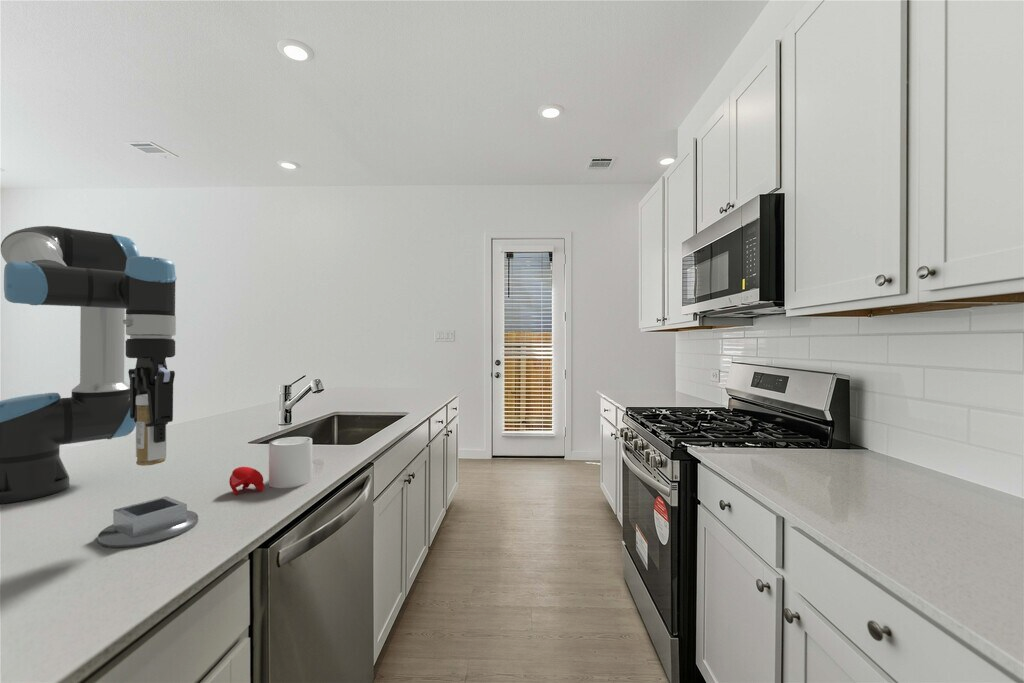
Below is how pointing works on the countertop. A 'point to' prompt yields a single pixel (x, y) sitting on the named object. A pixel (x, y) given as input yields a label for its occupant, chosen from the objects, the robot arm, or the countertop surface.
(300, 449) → the mug
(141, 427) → the sprinkles bottle
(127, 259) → the robot arm
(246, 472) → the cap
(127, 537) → the square hole disc
